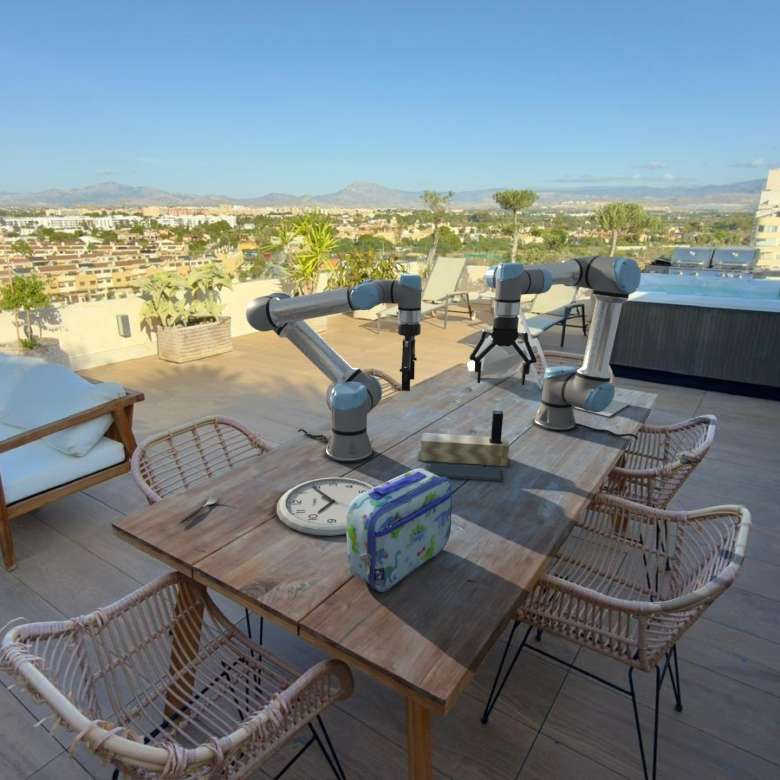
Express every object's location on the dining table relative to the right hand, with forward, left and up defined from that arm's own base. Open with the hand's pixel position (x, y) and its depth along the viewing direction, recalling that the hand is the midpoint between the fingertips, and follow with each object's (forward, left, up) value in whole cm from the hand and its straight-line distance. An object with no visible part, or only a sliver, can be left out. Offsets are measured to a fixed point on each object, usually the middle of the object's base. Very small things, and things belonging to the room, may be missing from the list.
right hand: (500, 383), depth 164 cm
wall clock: (+46, +36, -27) cm, 64 cm away
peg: (0, 0, -27) cm, 27 cm away
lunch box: (+25, +60, -27) cm, 70 cm away
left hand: (+30, -9, -5) cm, 31 cm away
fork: (+80, +44, -27) cm, 95 cm away
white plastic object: (-12, -92, -27) cm, 97 cm away
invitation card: (-50, -63, -27) cm, 85 cm away
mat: (+10, +11, -27) cm, 31 cm away
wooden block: (+10, 0, -27) cm, 29 cm away
